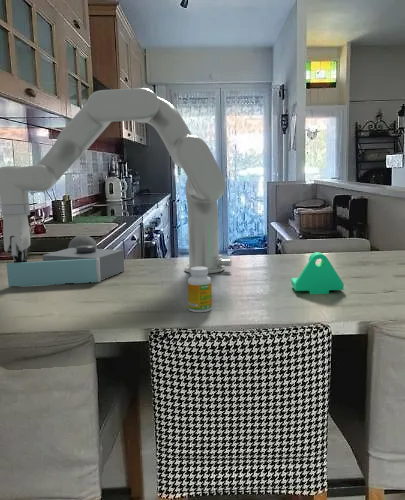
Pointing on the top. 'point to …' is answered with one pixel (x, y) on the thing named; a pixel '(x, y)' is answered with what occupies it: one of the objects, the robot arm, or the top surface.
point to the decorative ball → (81, 241)
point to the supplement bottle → (199, 290)
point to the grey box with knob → (108, 258)
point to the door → (53, 272)
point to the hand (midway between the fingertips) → (21, 273)
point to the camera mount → (318, 276)
